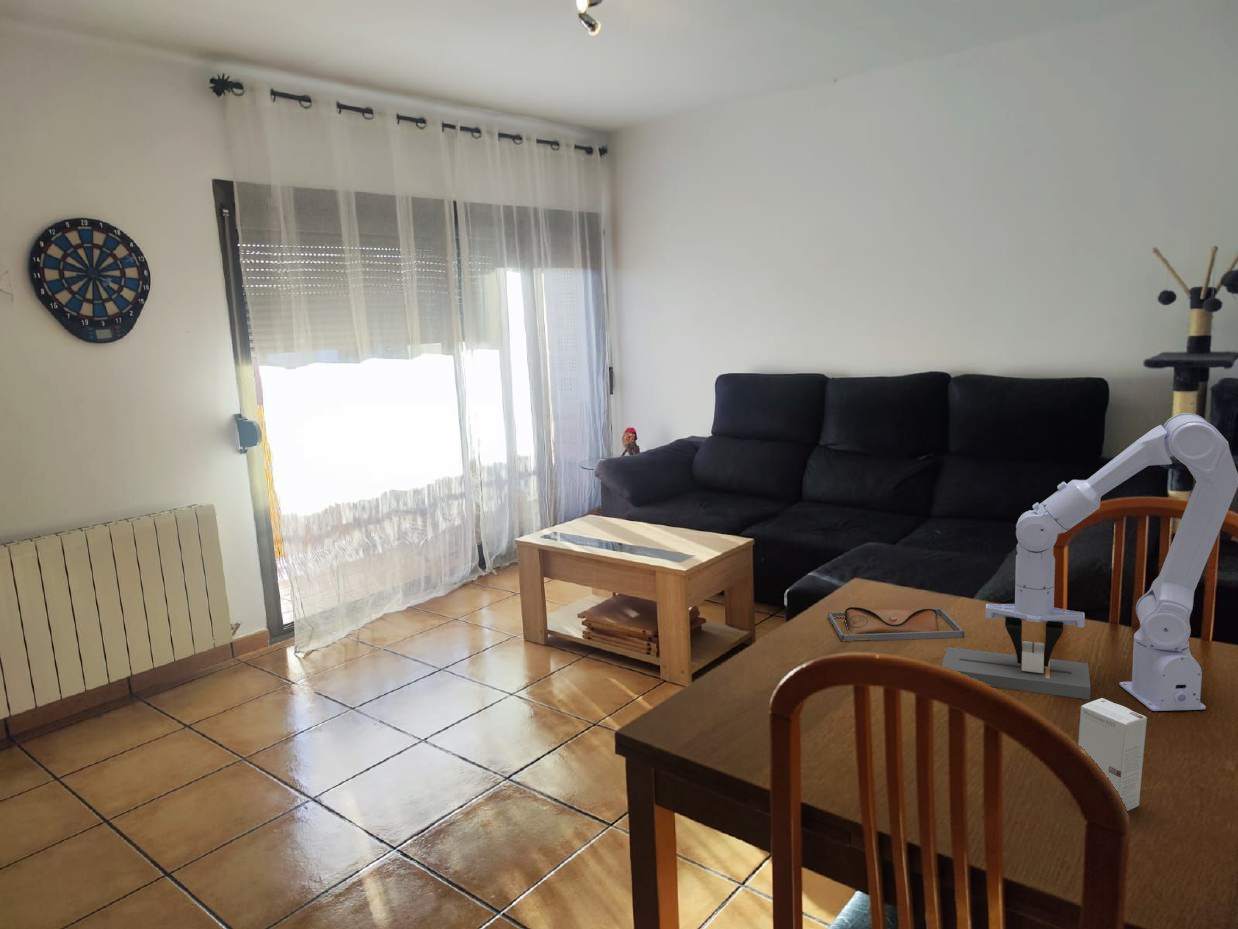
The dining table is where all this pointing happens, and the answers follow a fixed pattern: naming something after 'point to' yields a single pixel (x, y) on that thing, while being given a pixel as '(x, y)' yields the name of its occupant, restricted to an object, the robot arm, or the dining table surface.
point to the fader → (1033, 657)
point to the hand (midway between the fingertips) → (1032, 662)
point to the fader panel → (1021, 673)
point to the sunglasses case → (890, 620)
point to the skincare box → (1115, 745)
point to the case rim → (902, 636)
